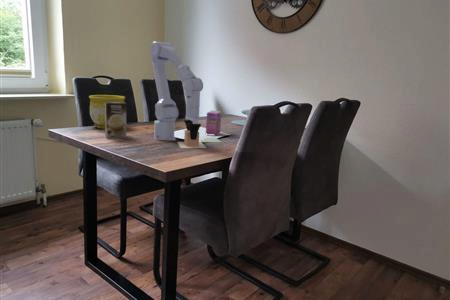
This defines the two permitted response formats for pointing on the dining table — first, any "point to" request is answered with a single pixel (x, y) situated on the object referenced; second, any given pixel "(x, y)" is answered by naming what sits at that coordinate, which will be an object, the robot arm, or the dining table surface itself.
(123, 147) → the dining table surface
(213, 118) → the box
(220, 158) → the dining table surface
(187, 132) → the block
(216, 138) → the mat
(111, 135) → the coffee box
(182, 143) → the plate
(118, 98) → the flowerpot
